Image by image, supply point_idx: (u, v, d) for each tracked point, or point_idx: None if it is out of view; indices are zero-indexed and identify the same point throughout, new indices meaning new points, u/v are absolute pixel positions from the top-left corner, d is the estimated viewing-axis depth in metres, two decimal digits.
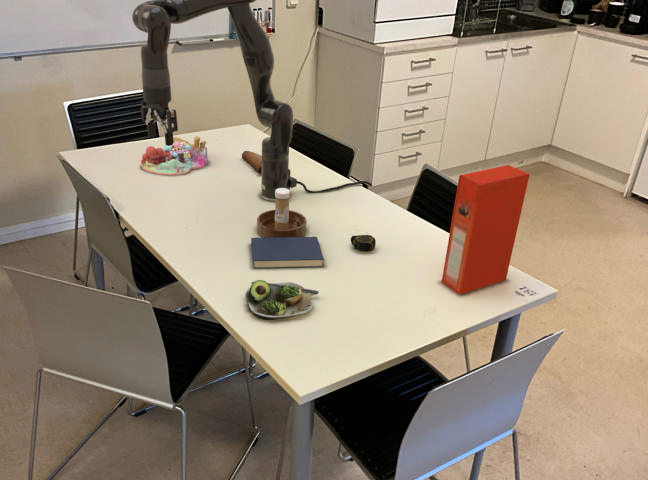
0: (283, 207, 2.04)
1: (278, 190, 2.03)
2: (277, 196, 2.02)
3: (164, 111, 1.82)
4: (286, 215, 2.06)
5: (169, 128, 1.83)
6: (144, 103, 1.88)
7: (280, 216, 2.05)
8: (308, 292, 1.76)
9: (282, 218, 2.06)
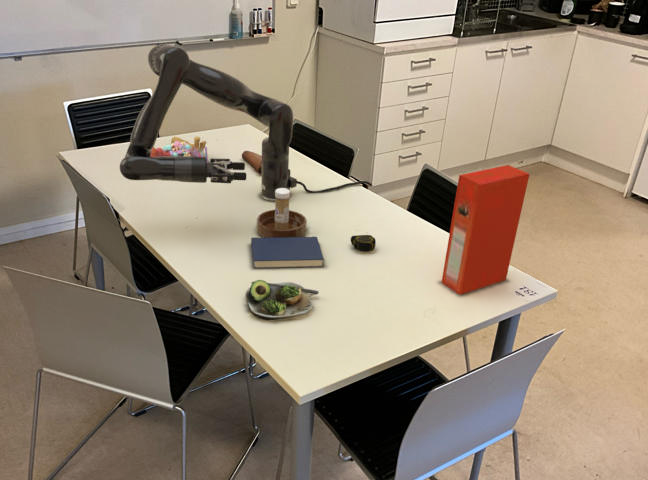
0: (283, 207, 2.04)
1: (278, 190, 2.03)
2: (277, 196, 2.02)
3: None
4: (286, 215, 2.06)
5: None
6: None
7: (280, 216, 2.05)
8: (308, 292, 1.76)
9: (282, 218, 2.06)
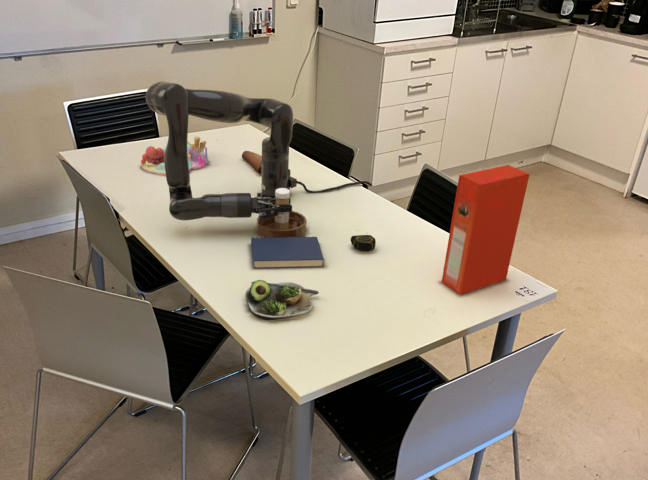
0: None
1: (278, 190, 2.03)
2: (277, 196, 2.02)
3: (258, 212, 2.02)
4: (286, 215, 2.06)
5: None
6: None
7: (281, 216, 2.05)
8: (308, 292, 1.76)
9: (282, 218, 2.06)
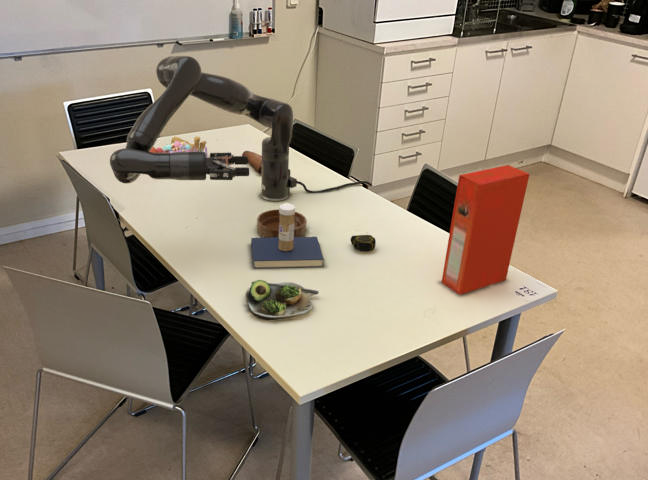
0: (288, 224, 1.89)
1: (282, 206, 1.88)
2: (281, 212, 1.87)
3: None
4: (291, 233, 1.91)
5: None
6: None
7: (285, 234, 1.90)
8: (308, 292, 1.76)
9: (286, 236, 1.91)
